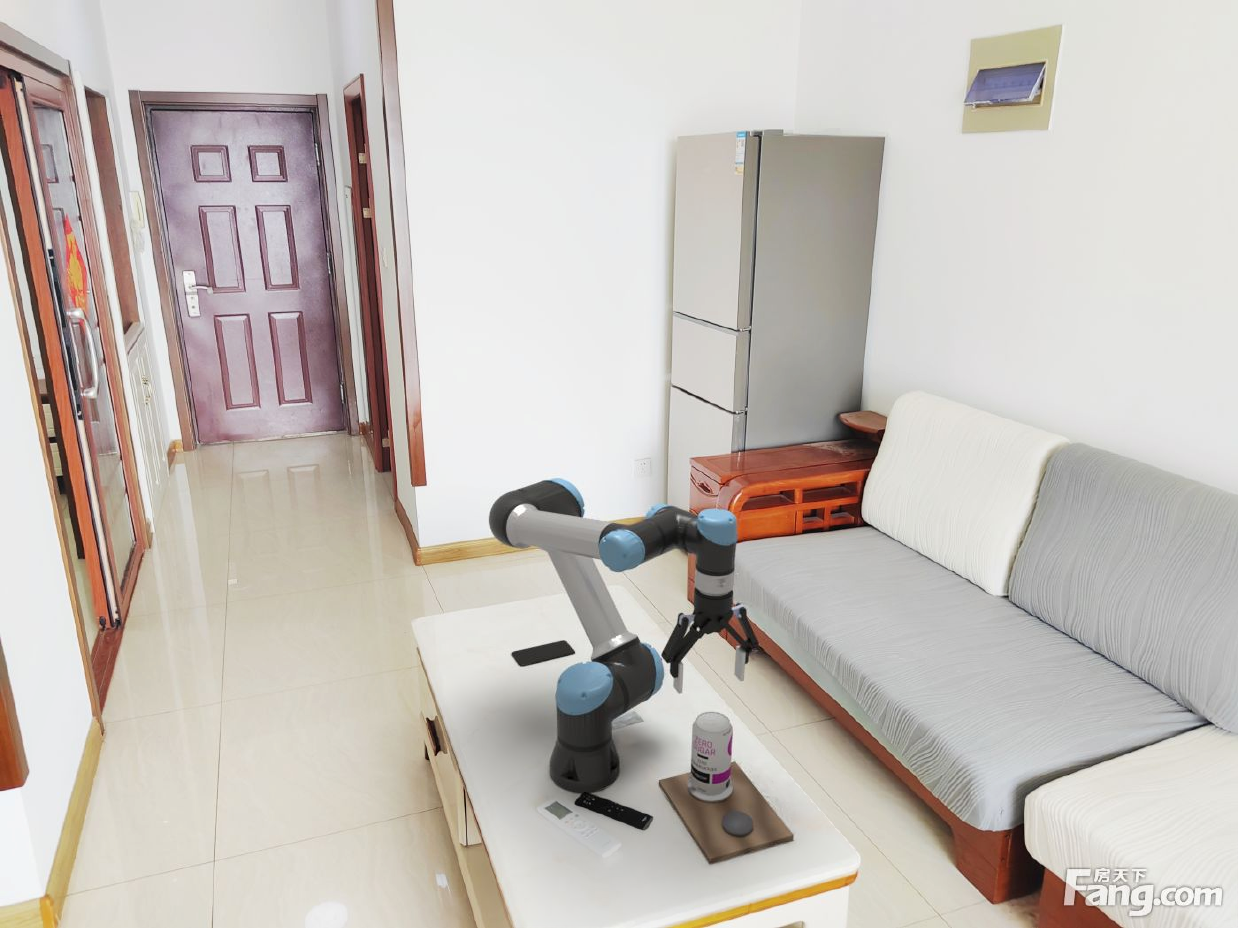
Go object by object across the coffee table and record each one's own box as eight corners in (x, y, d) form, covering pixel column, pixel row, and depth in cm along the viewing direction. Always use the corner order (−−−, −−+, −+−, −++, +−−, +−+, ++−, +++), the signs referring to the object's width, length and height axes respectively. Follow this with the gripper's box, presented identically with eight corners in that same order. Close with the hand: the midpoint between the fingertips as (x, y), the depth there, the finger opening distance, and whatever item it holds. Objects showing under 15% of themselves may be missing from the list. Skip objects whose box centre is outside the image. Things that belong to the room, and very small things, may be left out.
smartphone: (565, 641, 243) (510, 654, 236) (565, 638, 243) (510, 651, 236) (576, 655, 236) (520, 668, 229) (576, 652, 236) (520, 665, 229)
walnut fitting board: (709, 863, 164) (709, 858, 164) (658, 784, 185) (658, 779, 185) (793, 839, 170) (793, 834, 170) (734, 765, 192) (735, 761, 191)
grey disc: (730, 839, 168) (731, 835, 168) (716, 819, 174) (716, 815, 174) (758, 832, 171) (758, 827, 170) (743, 812, 176) (743, 807, 176)
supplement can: (729, 772, 186) (732, 710, 181) (730, 798, 178) (733, 734, 174) (690, 769, 187) (692, 708, 182) (689, 795, 179) (692, 732, 174)
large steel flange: (699, 807, 177) (699, 803, 177) (679, 778, 185) (679, 774, 185) (741, 796, 180) (741, 792, 180) (720, 768, 189) (720, 764, 188)
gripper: (661, 606, 163) (658, 705, 169) (780, 587, 171) (772, 682, 178) (646, 589, 169) (644, 684, 176) (761, 571, 178) (754, 663, 184)
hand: (708, 683), depth 177 cm, fingers open, 13 cm apart
